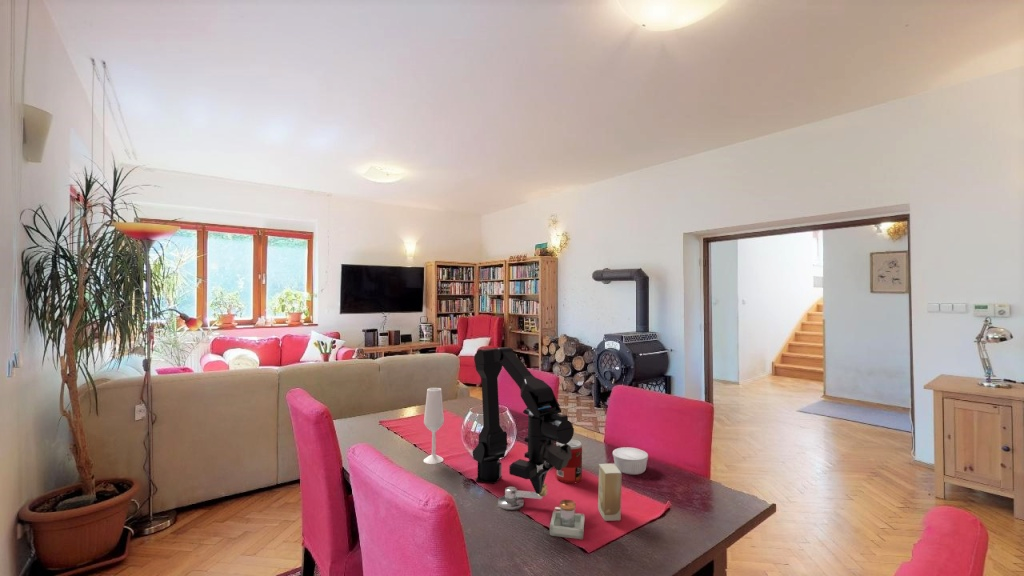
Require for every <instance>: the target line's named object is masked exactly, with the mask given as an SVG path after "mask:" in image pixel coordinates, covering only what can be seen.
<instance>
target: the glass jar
mask: <svg viewBox="0 0 1024 576" xmlns="http://www.w3.org/2000/svg"><path fill="white" fill-rule="evenodd" d="M576 506H577V505H576V501H574V500H571V499H562V500H560V502H559V507H560V510H559V511H560V526H562V527H570V528H575V513H576V508H577V507H576Z"/></svg>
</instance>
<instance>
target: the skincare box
mask: <svg viewBox="0 0 1024 576" xmlns="http://www.w3.org/2000/svg"><path fill="white" fill-rule="evenodd" d="M622 474H623V473H622V472H620V470H619V469H618V468H617V467H616V465H615V463H598V489H597V490H598V493H597V494H598V497H597V498H598V499H597V500H598V501H597V509H598V512H599V513H600V515H601V517H602V519H603V521H604V522H607V521H608V522H609V521H611V522H612V521H621V520H622V519H621V518H622V517H621V515H622V514H621V513H622V512H621V511H622V510H621V509H622V477H623V476H622Z"/></svg>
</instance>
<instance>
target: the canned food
mask: <svg viewBox="0 0 1024 576" xmlns="http://www.w3.org/2000/svg"><path fill="white" fill-rule="evenodd" d="M555 442H556V441H555ZM567 444H568V445H569V446H571V453H572V454H571V456H572V458H571V459H569V461H568V463H567V466H566V467H564V468H562V469H561V470H556V469H555V476H556V479H557V480H558V481H559V480H560V481H559V482H561V481H562V482H561V483H564V482H566V483H565V484H576V483H575V482H577V483H579V482H581V480H582V478H583V477H582V475H583V472H582V471H583V470H582V469H583V444H582V442H581V441H579V440H578V439H573V438H572V439H571V440H570V441H569V442H568V443H567ZM555 445H556V446H560V447H562V446H563V445H565V444H561V443H559V442H556V443H555Z"/></svg>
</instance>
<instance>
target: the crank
mask: <svg viewBox="0 0 1024 576" xmlns="http://www.w3.org/2000/svg"><path fill="white" fill-rule="evenodd" d="M547 495H548V485H547V483H545V482H544V484H543V487H542V490H541V493H540V494H537V493H536V492H535V491H529V490H518V488H517V487H515V486H507V487H505V488H504V496H505V502H506V503H509V504H513V503H516V502H517V497H521V498H523V499H524V498H525V499H526V498H527V499H535V500H536V499H538V500H542V499H543V497H545V496H547Z"/></svg>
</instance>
